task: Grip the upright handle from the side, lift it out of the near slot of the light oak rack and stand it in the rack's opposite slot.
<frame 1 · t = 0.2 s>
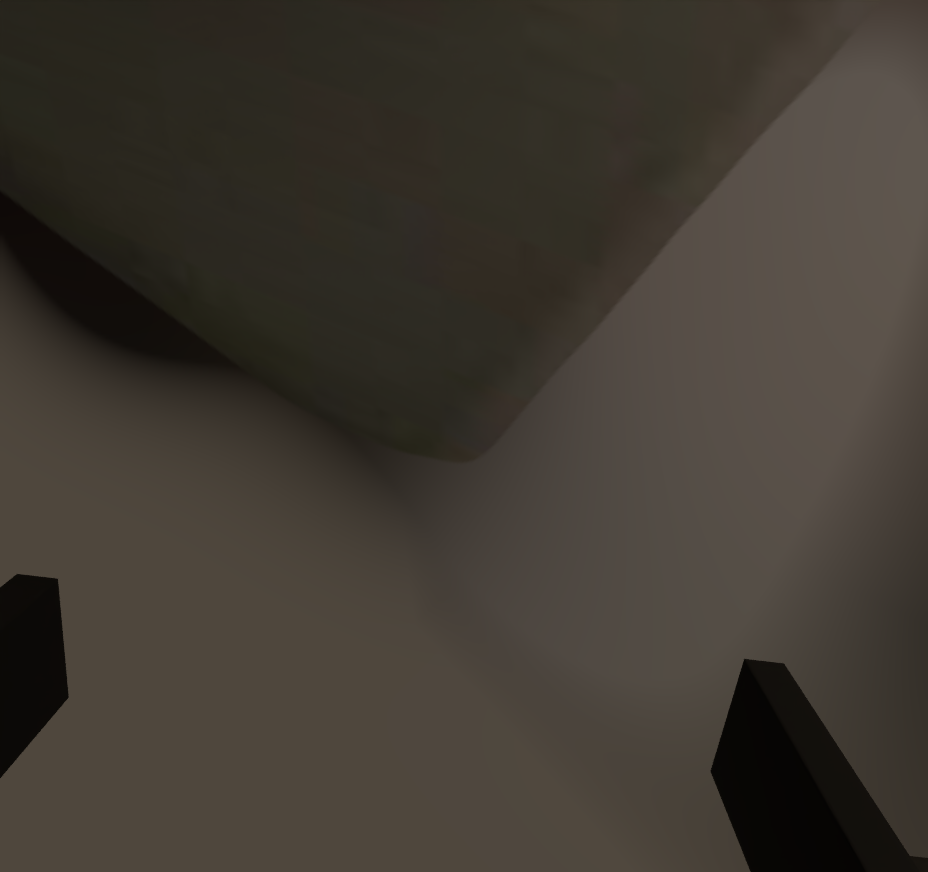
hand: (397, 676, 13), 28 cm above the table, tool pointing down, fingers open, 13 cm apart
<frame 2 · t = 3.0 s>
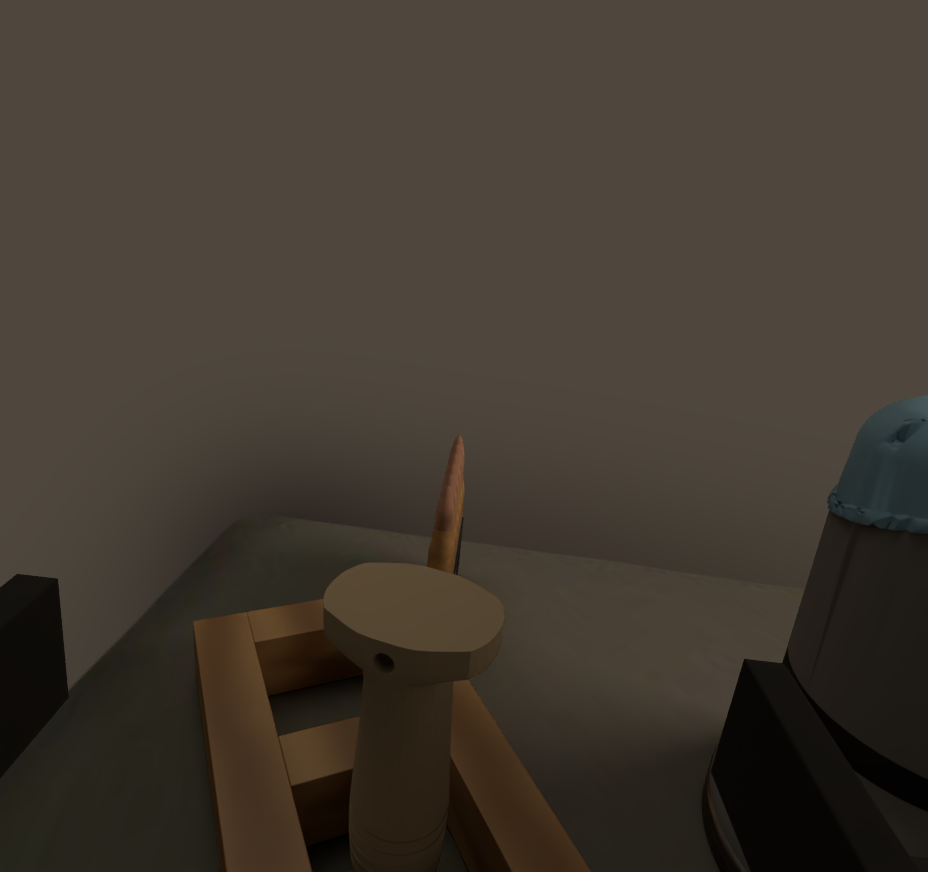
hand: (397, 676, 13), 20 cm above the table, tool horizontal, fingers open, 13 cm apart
rack: (358, 802, 33), on the table
ammunition clip: (439, 612, 49), on the table
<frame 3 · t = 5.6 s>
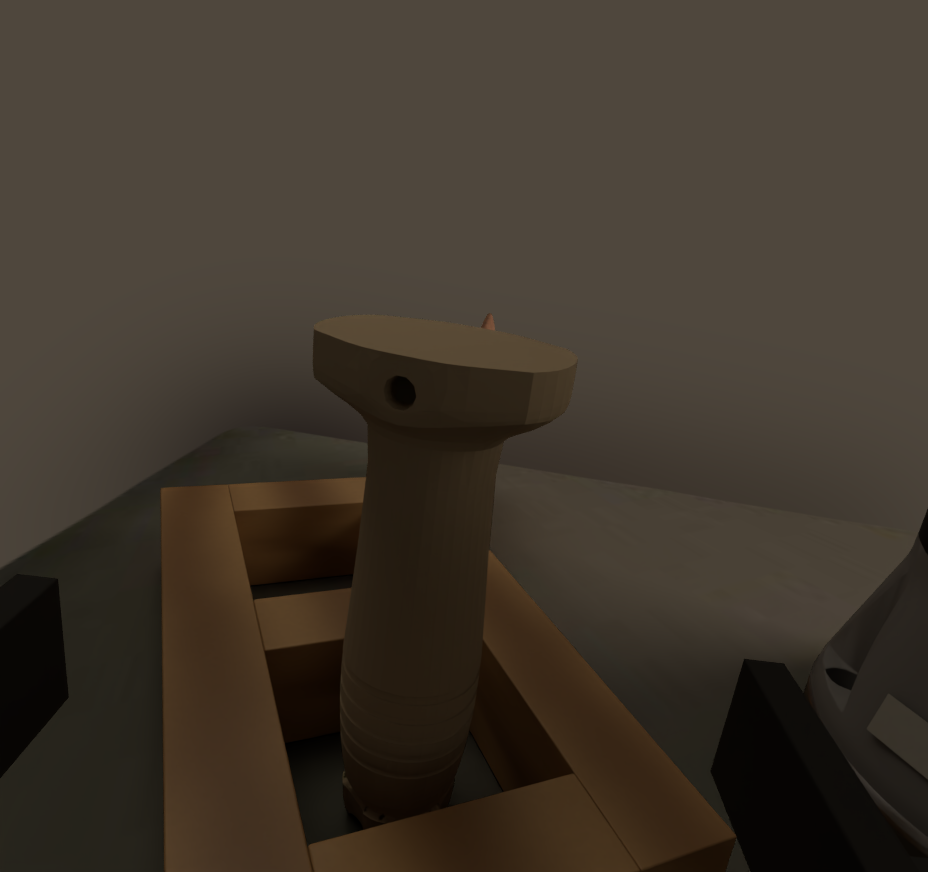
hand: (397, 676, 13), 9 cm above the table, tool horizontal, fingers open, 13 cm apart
handle: (395, 813, 21), resting in rack
rack: (355, 699, 26), on the table
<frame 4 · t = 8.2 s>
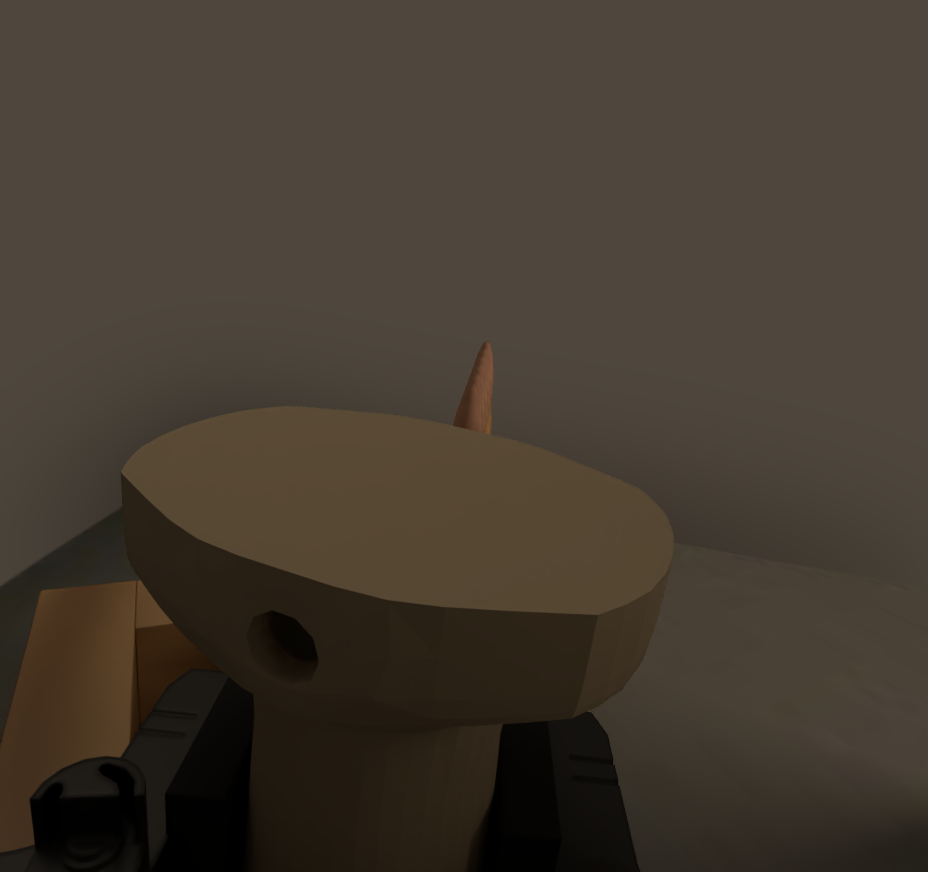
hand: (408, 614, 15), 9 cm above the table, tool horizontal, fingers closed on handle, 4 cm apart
ammunition clip: (449, 602, 33), on the table
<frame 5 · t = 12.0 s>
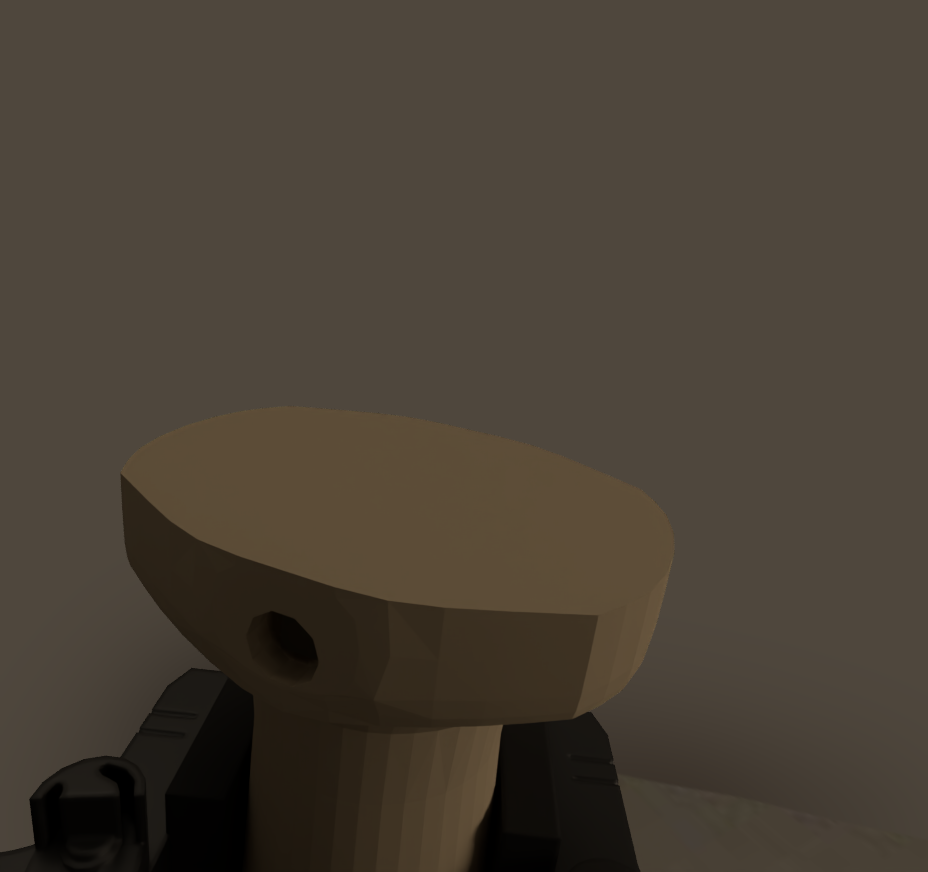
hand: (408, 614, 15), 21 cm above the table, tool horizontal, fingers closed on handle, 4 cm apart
when the fingers open (9 cm above the table, at t = 15.6 s): handle stays where it is, resting in rack.
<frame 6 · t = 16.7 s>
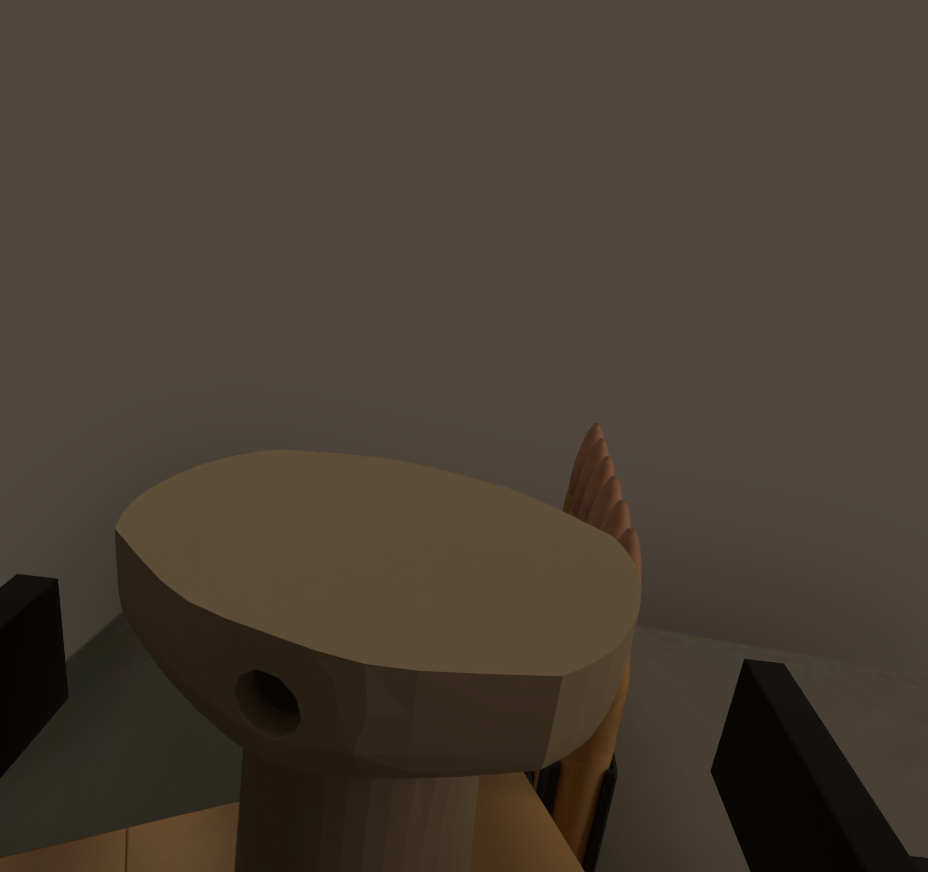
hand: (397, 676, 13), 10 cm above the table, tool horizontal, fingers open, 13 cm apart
ammunition clip: (547, 773, 25), on the table
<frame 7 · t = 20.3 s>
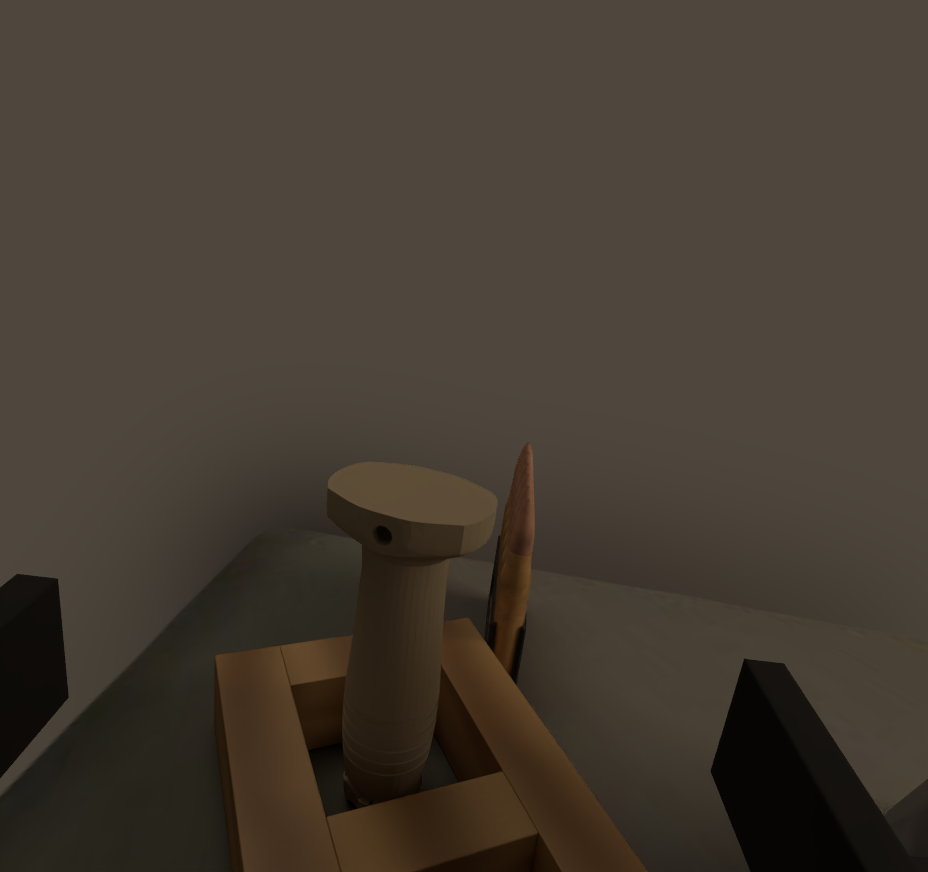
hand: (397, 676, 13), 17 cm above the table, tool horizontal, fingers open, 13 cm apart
handle: (380, 801, 30), resting in rack
ammunition clip: (498, 651, 42), on the table
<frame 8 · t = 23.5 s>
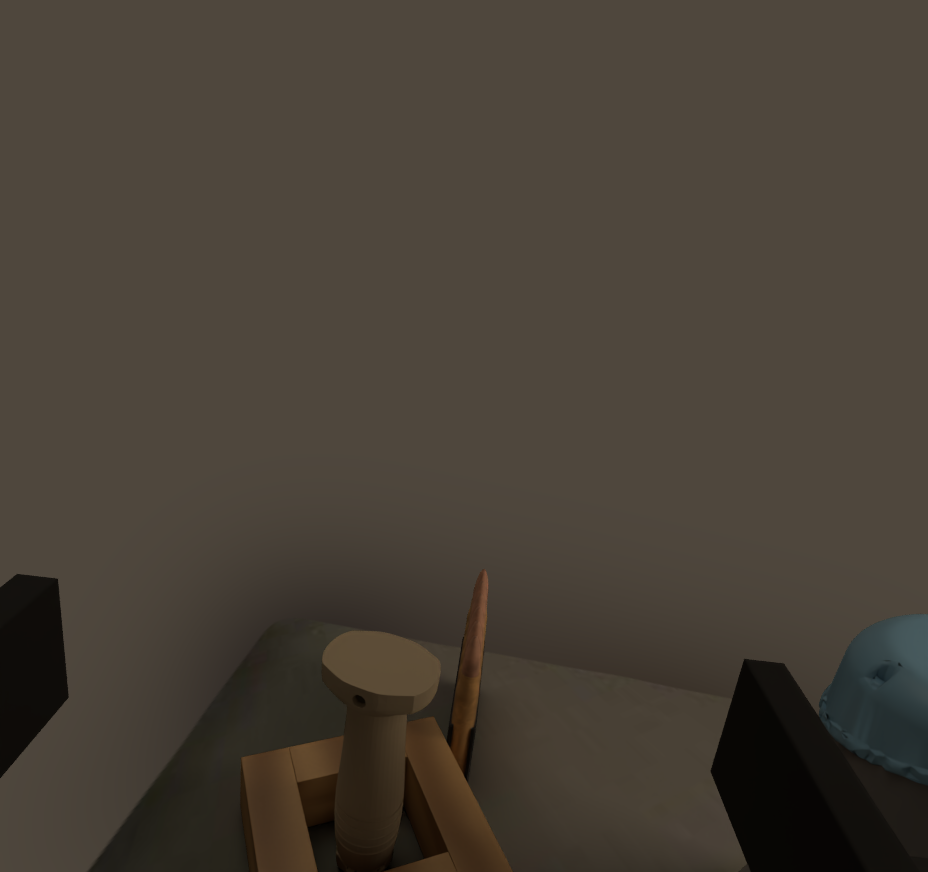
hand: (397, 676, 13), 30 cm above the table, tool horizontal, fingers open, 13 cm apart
handle: (363, 867, 41), resting in rack
ammunition clip: (460, 734, 53), on the table
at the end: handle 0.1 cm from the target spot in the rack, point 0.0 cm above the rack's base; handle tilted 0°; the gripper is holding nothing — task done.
